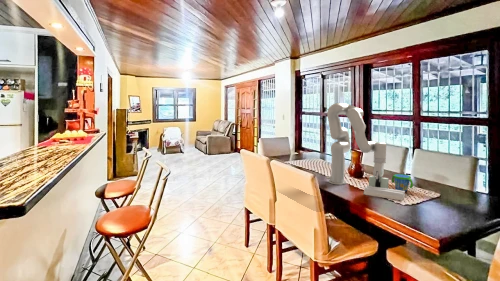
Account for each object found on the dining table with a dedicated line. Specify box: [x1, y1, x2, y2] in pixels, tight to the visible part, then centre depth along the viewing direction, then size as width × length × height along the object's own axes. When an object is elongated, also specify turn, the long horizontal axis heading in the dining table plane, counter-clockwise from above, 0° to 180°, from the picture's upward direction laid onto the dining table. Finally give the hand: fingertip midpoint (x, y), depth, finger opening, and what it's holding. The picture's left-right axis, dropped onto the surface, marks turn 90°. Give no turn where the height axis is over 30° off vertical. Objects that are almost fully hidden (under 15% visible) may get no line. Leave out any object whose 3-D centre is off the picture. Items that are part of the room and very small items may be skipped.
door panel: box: [368, 175, 390, 189], centre depth 206 cm, size 12×3×9 cm, turn 54°
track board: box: [363, 185, 406, 201], centre depth 194 cm, size 23×10×4 cm, turn 55°
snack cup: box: [390, 173, 414, 192], centre depth 207 cm, size 16×10×10 cm
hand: (378, 186), depth 206 cm, fingers closed on door panel, 2 cm apart
